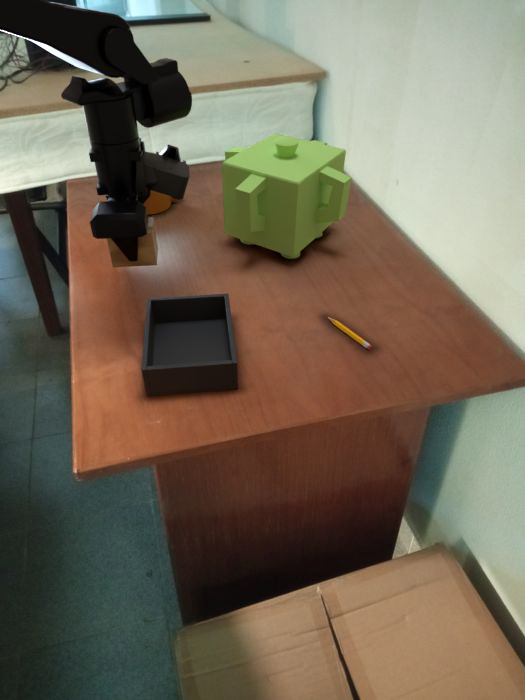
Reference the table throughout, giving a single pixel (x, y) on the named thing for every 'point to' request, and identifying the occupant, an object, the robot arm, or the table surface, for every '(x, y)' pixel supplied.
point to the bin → (189, 345)
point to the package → (145, 249)
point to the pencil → (351, 334)
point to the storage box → (283, 192)
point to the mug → (158, 202)
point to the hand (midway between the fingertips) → (134, 251)
